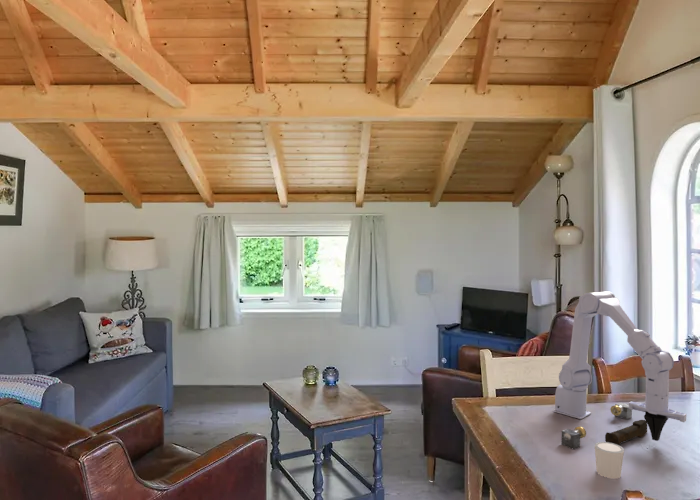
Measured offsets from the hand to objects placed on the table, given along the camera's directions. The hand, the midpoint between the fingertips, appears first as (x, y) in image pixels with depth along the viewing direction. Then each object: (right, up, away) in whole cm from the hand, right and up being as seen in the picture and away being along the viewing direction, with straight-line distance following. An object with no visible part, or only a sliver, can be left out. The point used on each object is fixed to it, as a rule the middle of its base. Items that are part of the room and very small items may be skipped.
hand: (655, 439), depth 150 cm
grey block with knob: (+2, -1, +23) cm, 23 cm away
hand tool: (-5, -2, +6) cm, 8 cm away
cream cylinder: (-22, -3, -16) cm, 28 cm away
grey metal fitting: (-23, -2, +1) cm, 23 cm away
